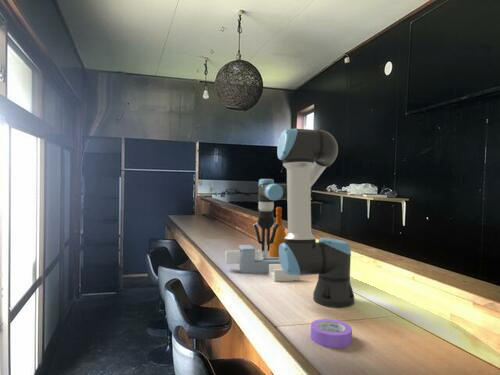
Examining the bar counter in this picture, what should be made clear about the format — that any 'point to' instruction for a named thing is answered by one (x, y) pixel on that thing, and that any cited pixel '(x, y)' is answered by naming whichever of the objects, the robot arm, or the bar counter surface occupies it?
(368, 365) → the bar counter surface
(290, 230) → the robot arm
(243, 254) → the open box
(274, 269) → the cradle
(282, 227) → the wine bottle
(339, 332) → the masking tape
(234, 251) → the grey long rectangular block
